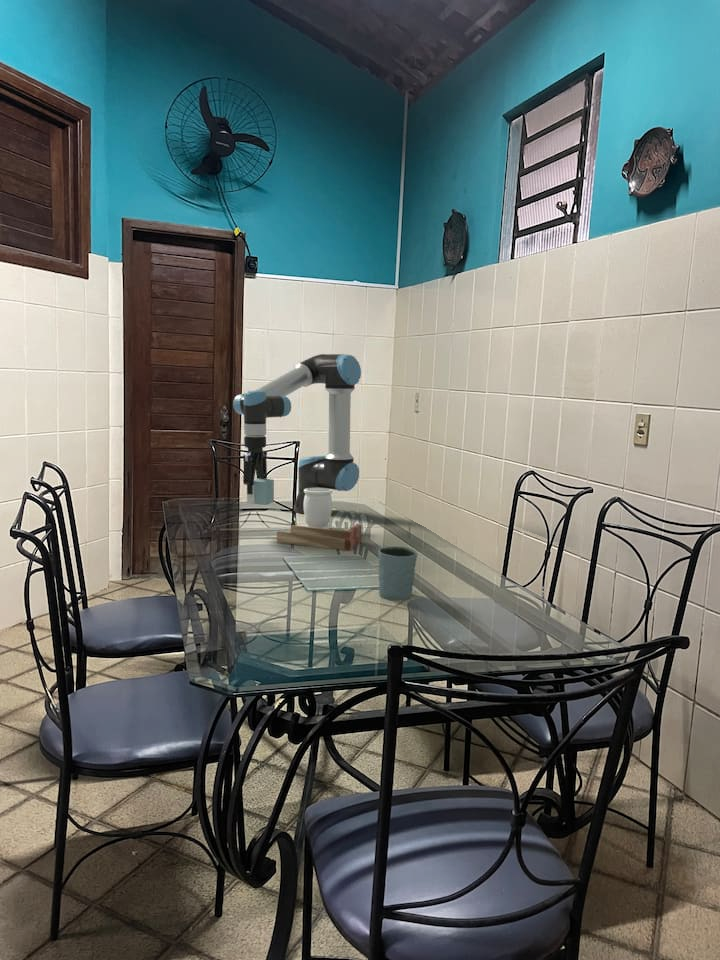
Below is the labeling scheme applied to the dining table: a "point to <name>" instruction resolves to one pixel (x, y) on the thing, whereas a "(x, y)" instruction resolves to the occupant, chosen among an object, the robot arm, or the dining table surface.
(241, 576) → the dining table surface
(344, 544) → the trough
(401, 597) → the blue-grey cup
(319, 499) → the jar
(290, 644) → the dining table surface
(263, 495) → the block
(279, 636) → the dining table surface
